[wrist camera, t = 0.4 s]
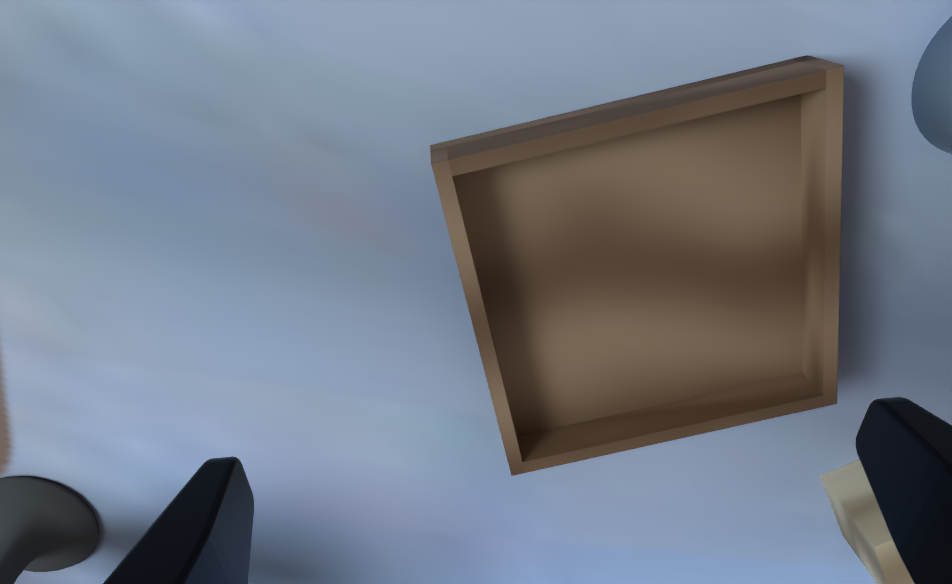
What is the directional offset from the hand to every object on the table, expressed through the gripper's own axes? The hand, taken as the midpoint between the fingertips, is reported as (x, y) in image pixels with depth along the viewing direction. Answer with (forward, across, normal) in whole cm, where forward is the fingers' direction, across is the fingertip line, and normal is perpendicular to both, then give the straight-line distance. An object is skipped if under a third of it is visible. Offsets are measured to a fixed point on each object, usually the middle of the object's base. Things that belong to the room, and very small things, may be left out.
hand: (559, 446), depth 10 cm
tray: (+13, -5, +6) cm, 15 cm away
